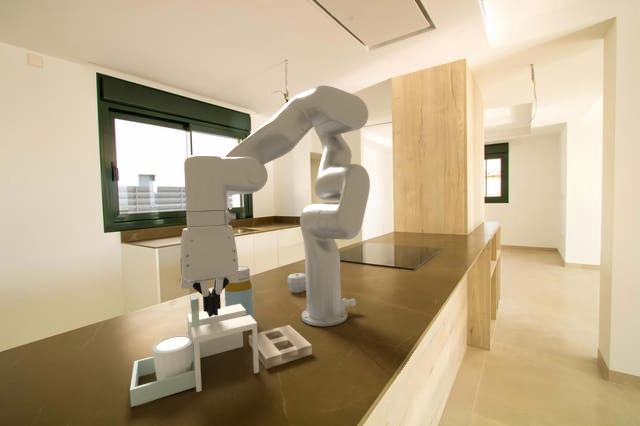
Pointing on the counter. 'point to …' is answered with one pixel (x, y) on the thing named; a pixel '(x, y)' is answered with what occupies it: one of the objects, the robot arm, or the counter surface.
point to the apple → (297, 282)
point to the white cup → (173, 356)
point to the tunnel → (221, 335)
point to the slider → (168, 384)
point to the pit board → (281, 346)
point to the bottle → (240, 291)
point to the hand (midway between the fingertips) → (212, 313)
